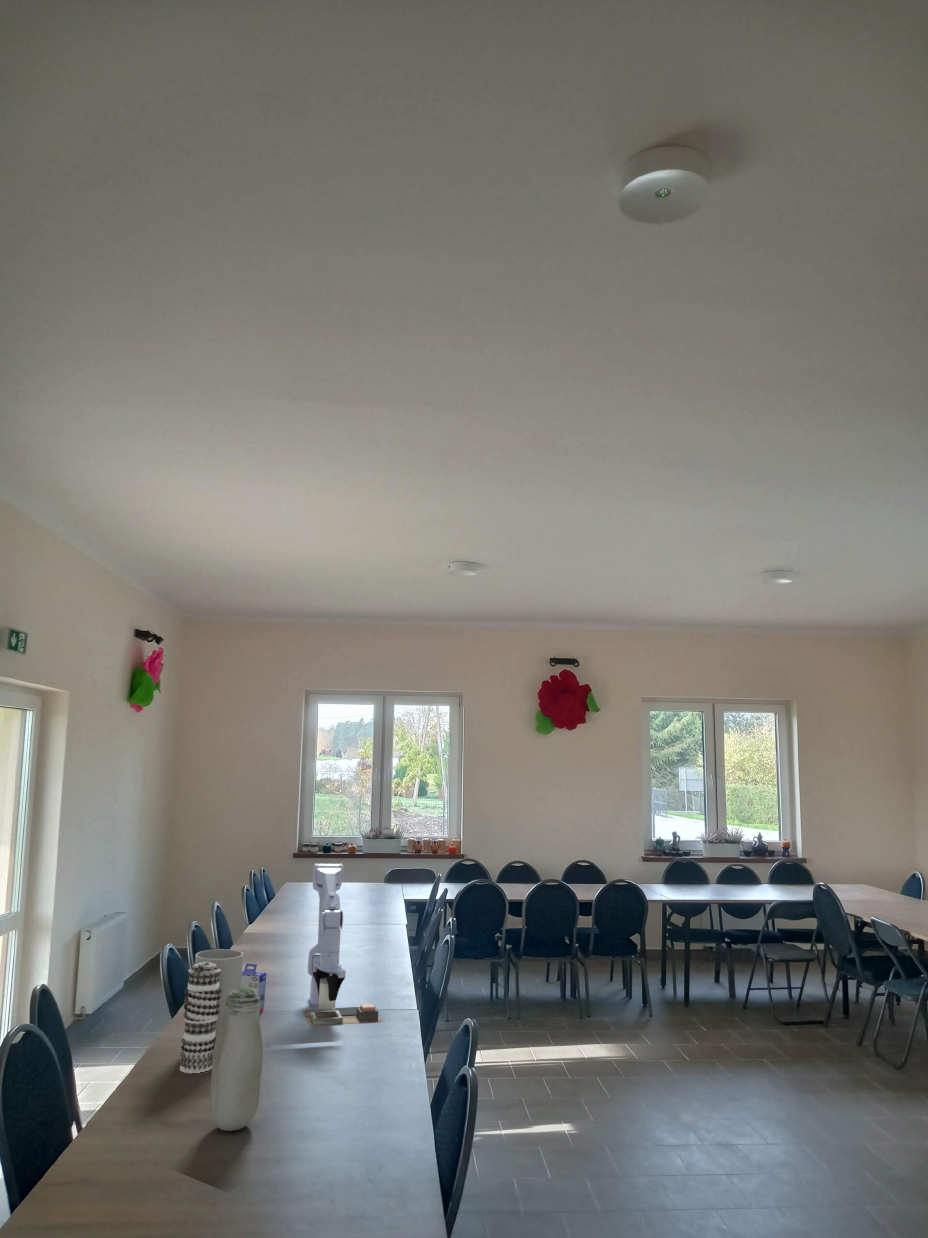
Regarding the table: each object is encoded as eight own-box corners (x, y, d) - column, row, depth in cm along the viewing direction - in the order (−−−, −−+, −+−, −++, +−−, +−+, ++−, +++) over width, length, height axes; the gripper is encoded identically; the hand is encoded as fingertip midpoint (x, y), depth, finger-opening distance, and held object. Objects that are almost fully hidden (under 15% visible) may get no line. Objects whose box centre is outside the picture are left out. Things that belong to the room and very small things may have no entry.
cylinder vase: (245, 1049, 231) (252, 952, 235) (217, 1063, 220) (225, 961, 224) (206, 1043, 235) (213, 947, 240) (177, 1056, 224) (185, 956, 228)
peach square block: (360, 1014, 261) (360, 1004, 262) (371, 1014, 262) (372, 1004, 263) (362, 1018, 258) (363, 1007, 258) (374, 1017, 259) (374, 1007, 259)
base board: (302, 1014, 265) (303, 1002, 265) (372, 1010, 271) (373, 999, 272) (309, 1029, 250) (310, 1017, 250) (383, 1025, 256) (383, 1013, 257)
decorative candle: (181, 1076, 210) (190, 969, 214) (175, 1064, 218) (183, 961, 222) (218, 1071, 214) (226, 966, 218) (211, 1060, 222) (219, 959, 226)
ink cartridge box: (264, 1013, 264) (268, 964, 267) (257, 1018, 259) (260, 968, 261) (235, 1011, 266) (238, 962, 269) (227, 1015, 261) (230, 966, 263)
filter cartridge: (315, 1006, 257) (316, 978, 258) (328, 1003, 260) (330, 976, 262) (324, 1010, 253) (326, 982, 255) (338, 1007, 257) (340, 979, 258)
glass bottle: (232, 1142, 174) (242, 997, 179) (198, 1130, 180) (209, 989, 185) (267, 1126, 183) (276, 988, 188) (233, 1114, 188) (243, 980, 193)
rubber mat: (335, 1009, 268) (335, 1008, 268) (360, 1008, 270) (360, 1007, 270) (339, 1016, 260) (339, 1015, 260) (365, 1015, 263) (365, 1014, 263)
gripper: (354, 953, 257) (352, 1001, 255) (327, 945, 268) (324, 991, 265) (335, 956, 252) (332, 1005, 250) (308, 948, 263) (305, 994, 261)
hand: (327, 998), depth 257 cm, fingers closed on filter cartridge, 5 cm apart
